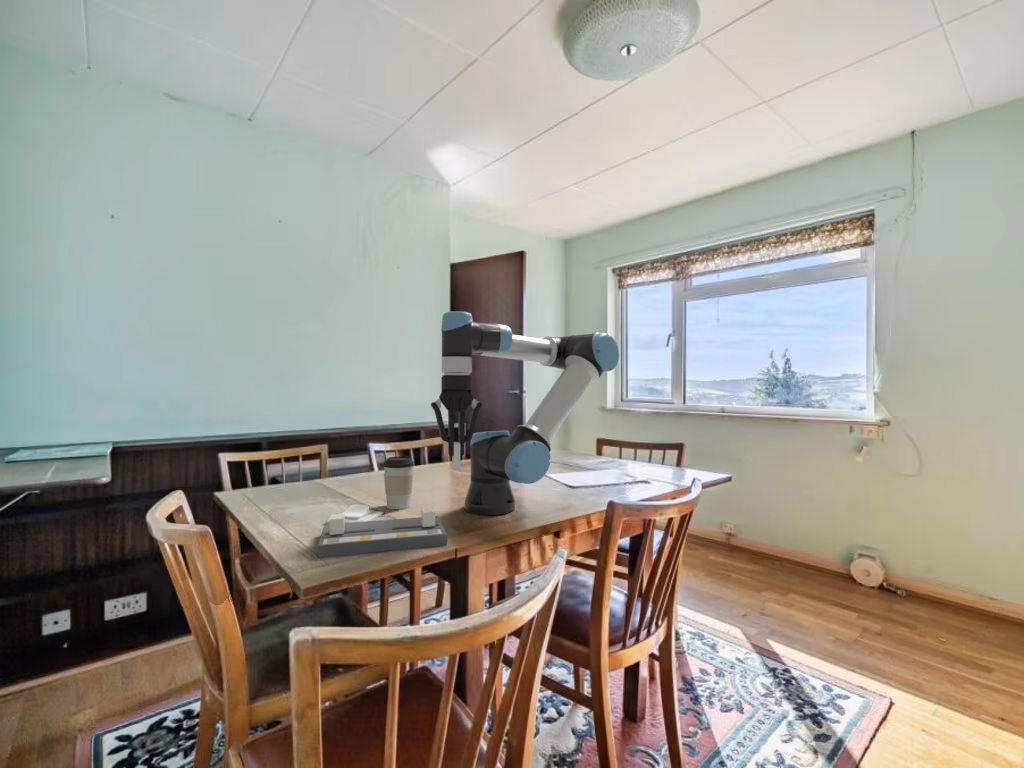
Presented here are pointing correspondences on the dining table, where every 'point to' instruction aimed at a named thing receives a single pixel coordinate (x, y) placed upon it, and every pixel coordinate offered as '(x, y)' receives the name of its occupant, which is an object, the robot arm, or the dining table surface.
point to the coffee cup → (398, 481)
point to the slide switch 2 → (427, 517)
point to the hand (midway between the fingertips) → (456, 468)
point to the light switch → (358, 514)
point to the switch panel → (381, 536)
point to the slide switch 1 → (337, 524)
